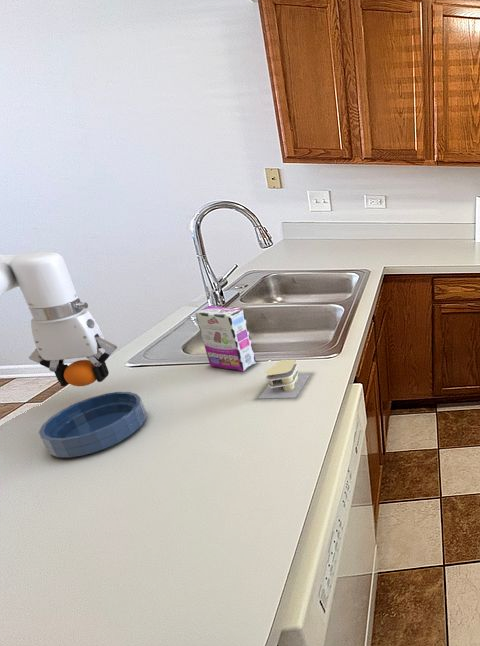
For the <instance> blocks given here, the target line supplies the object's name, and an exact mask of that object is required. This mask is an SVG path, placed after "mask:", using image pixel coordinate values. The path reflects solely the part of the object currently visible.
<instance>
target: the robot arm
mask: <svg viewBox="0 0 480 646" xmlns="http://www.w3.org/2000/svg"><path fill="white" fill-rule="evenodd" d="M16 288H19V289H20V291H21V293H22V296H23V298H24V300H25V302H26V305H27V307H28V309H29V312H30V314H31V316H32V319H30V327H31V334H32V337H33V342H34V345H35V347H36V348H35V349H34V350H33V352H32V353H31V354H30V355H29V356H28V359H29V360H31V361H32V362H36V363H37V364H40V366H42V367H45V368H47V369H49V371H50V372H52V373H53V372H54V375H55V377H56V379H57V382H59V384H60V386H61V387H67V386H68V385H70V384H69V383H68V382H67V381H66V380H65V378H64V371H65V369H66V368H67V367H68V366H69V364H66V363H65V360H72V359H80V358H82V359H83V358H86V360H89V361H91V362H92V363H93V364H94V365H95V366H94V367H93V368H92V369H93V372H94V374H95V377H96V379H97V380H96V382H98V383H100V382H103V381H104V380H105V379H106V378H107V377H108V376H109V373H110V371H109V369H108V366H107V363H106V361H107V360H108V359H109V357H110V356H112V354H113V353H114V352H115V351H116V350H117V349H118V346H117V345H116V344H114V343H112V342H109V341H108V340H106V339H105V336H104V334H103V332H102V330H101V329H100V326H99V324H98V322H97V321H96V320H95V318H94V316H93V314H92V313H91V312H90V311H89V310H88V308H89V303H88V302H82V301H81V299H80V298H79V297H78V294H77V291H76V287H75V286H74V283H73V280H72V277H71V275H70V272H69V269H68V266H67V265H66V261H65V259H64V257H63V256H62V255H61V254H59V253H57V252H53V251H38V252H31V253H25V254H5V253H0V296H2V295H3V294H5V293H6V292H8V291H12V290H13V289H16ZM100 349H103V350H104V352H102V351H101V350H100Z"/></svg>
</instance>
